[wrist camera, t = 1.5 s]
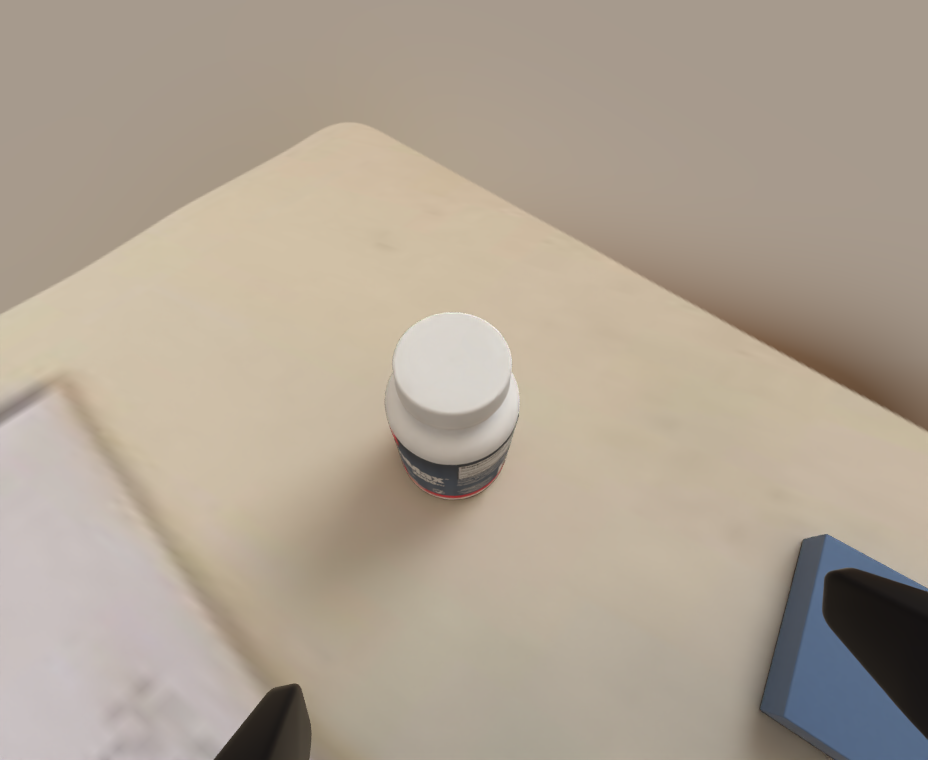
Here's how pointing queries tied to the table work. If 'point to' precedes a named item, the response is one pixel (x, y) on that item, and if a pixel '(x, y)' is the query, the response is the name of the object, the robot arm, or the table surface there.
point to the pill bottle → (452, 403)
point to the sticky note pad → (833, 670)
